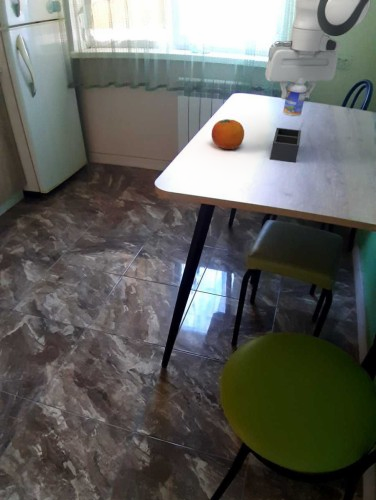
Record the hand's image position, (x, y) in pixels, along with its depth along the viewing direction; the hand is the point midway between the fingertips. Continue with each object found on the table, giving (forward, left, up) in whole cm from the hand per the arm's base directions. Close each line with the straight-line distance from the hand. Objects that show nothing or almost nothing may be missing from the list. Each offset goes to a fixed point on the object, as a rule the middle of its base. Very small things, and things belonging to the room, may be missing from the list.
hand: (295, 98), depth 120 cm
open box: (-2, -3, -17) cm, 17 cm away
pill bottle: (0, 0, -4) cm, 4 cm away
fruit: (+16, -11, -17) cm, 26 cm away
